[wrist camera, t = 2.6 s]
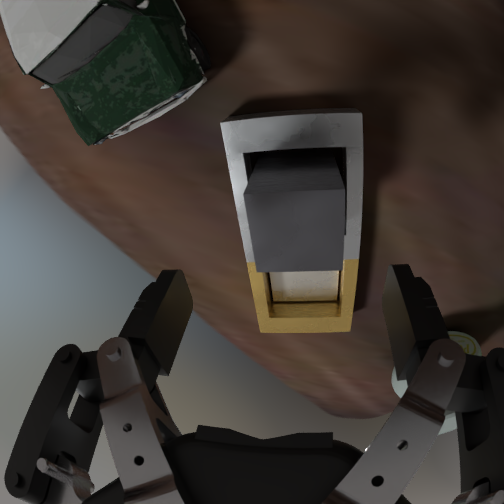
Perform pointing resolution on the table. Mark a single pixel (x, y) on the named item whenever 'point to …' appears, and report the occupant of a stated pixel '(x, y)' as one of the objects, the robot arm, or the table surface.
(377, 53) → the table surface
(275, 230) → the grey block
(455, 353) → the robot arm
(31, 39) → the miniature car
